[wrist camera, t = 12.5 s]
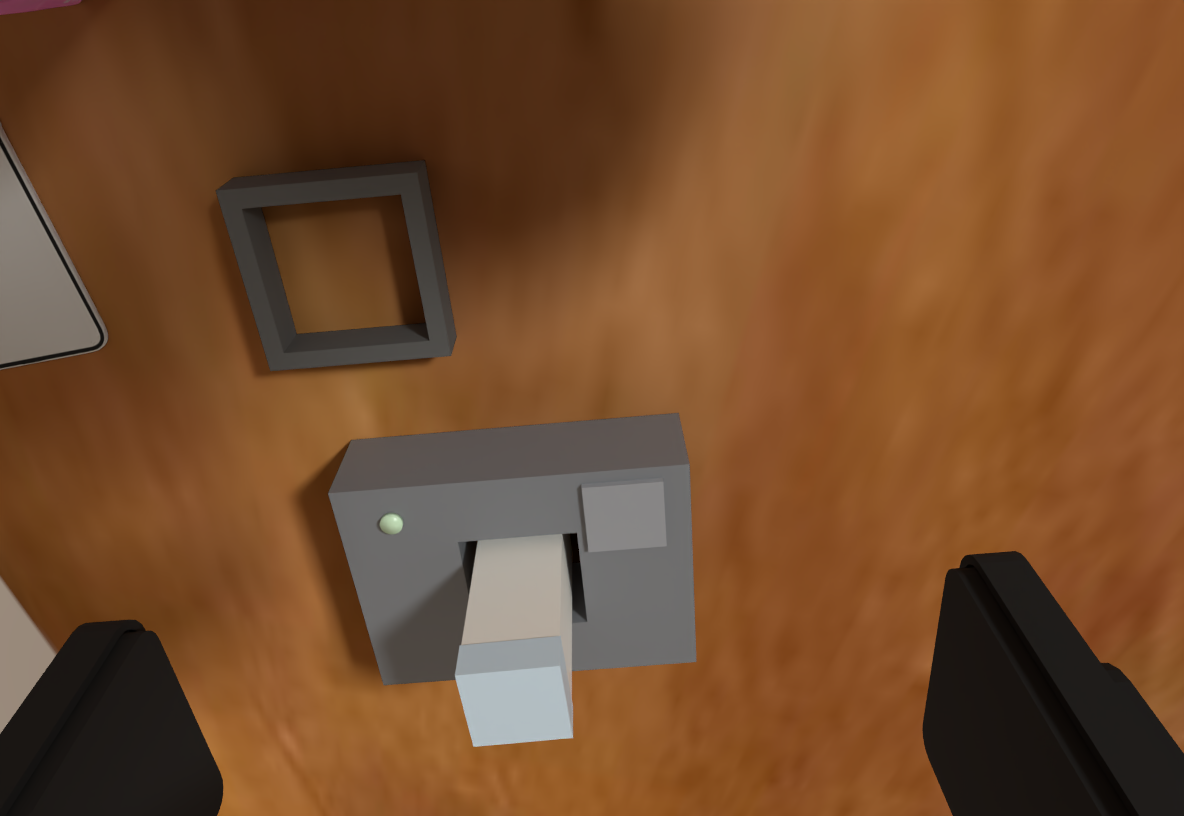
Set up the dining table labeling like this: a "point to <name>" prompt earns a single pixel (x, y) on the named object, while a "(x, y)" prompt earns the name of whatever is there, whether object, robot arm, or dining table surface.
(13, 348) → the smartphone
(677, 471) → the port panel
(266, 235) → the dark square frame
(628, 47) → the dining table surface
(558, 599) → the plug
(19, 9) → the gum box
